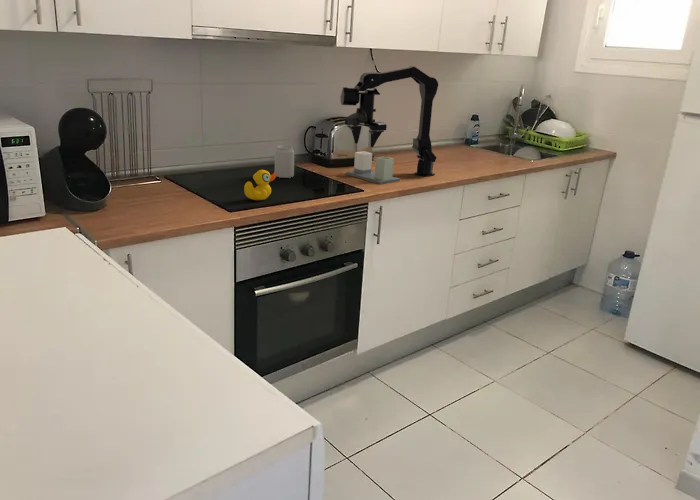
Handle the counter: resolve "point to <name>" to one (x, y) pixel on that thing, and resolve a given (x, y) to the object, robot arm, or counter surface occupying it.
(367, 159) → the sleeve
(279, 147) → the can
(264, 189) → the duckling
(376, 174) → the pin board
